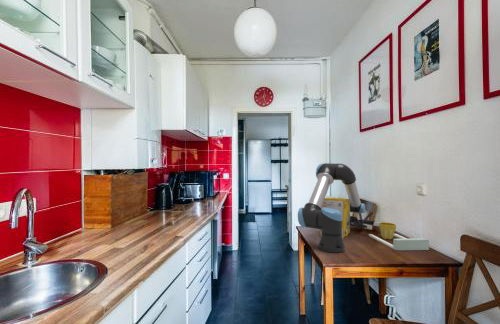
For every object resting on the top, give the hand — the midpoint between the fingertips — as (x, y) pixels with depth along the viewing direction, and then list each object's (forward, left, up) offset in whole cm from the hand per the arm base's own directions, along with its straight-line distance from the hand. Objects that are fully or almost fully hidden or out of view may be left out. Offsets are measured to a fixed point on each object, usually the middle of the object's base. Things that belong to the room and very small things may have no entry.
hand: (377, 226), depth 189 cm
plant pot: (+6, -4, -7) cm, 10 cm away
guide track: (+11, -12, -6) cm, 17 cm away
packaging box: (-27, -10, -7) cm, 30 cm away
